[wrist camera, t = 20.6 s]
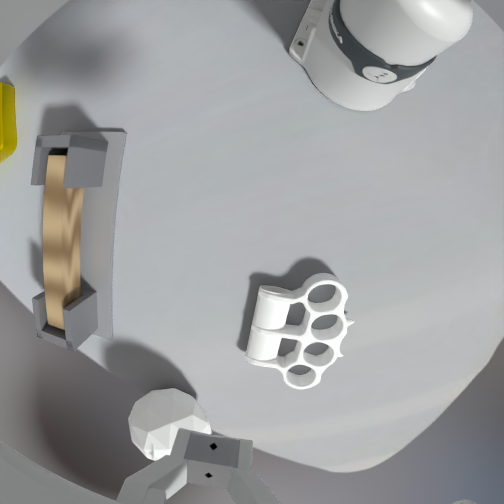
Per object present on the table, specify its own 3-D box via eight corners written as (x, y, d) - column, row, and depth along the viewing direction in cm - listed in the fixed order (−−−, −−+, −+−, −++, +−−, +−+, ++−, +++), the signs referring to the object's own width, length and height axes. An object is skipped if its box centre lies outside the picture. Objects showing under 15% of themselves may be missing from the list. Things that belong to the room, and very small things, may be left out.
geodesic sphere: (231, 458, 43) (203, 481, 30) (162, 461, 44) (122, 478, 32) (214, 383, 49) (182, 384, 37) (148, 392, 50) (104, 392, 38)
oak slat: (69, 157, 35) (48, 155, 30) (87, 157, 35) (67, 155, 30) (65, 311, 40) (48, 323, 36) (82, 316, 40) (65, 330, 36)
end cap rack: (64, 132, 37) (28, 125, 28) (126, 133, 37) (95, 122, 28) (57, 318, 44) (28, 340, 35) (112, 336, 44) (87, 364, 35)
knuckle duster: (264, 260, 41) (363, 279, 41) (241, 369, 45) (329, 380, 45) (264, 267, 38) (371, 286, 38) (240, 381, 42) (333, 392, 42)
